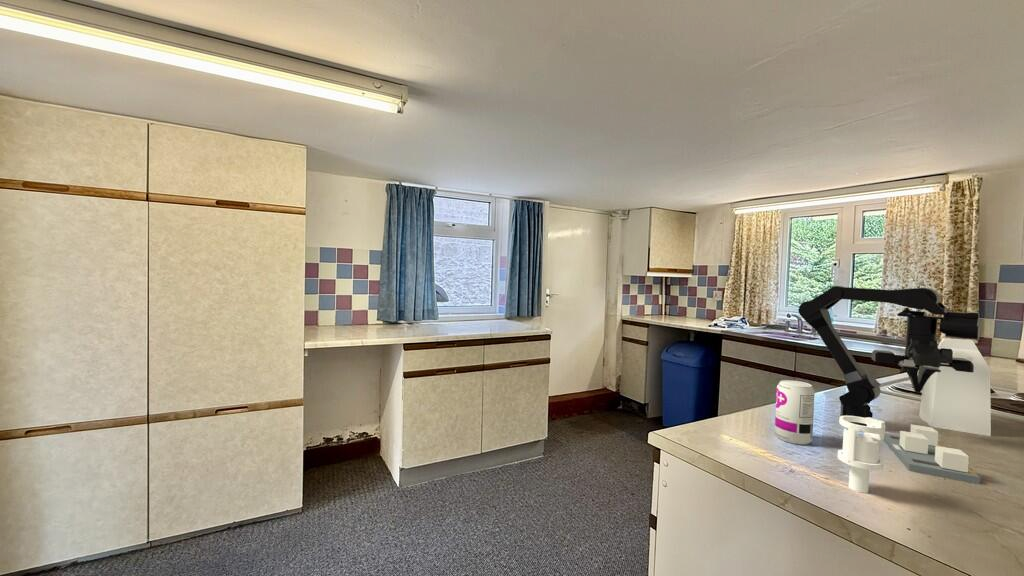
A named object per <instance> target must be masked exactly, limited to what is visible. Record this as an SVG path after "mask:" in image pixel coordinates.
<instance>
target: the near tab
mask: <svg viewBox="0 0 1024 576" xmlns="http://www.w3.org/2000/svg"><path fill="white" fill-rule="evenodd" d="M969 459H970V456H969V455H968V454H967V453H965V452H964V451H963V450H961V449H958V448H952V447H946V446H944V447H940V446H936V447H935V462H936V463H938V464H939V465H940V466H941V467H942V468H946V469H951V470H957V471H962V472H968V468H969Z"/></svg>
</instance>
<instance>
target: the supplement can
mask: <svg viewBox="0 0 1024 576" xmlns="http://www.w3.org/2000/svg"><path fill="white" fill-rule="evenodd" d="M815 393H816V391H815V389H814V387H813V385H812V384H810V383H808V382H804V381H799V380H792V379H791V380H790V379H782V380H780V381H779V382H778V384H777V386H776V395H775V414H774V415H775V416H774V417H775V418H774V420H775V421H774V435H775V436H776V437H777V438H778V439H779V440H781V441H784V442H786V443H790V444H792V445H800V446H805V445H806V446H807V445H809V444H810V443H812V442H813V432H814V431H813V430H814V416H815V415H814V413H815V395H816V394H815Z"/></svg>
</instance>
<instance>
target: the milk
mask: <svg viewBox="0 0 1024 576" xmlns="http://www.w3.org/2000/svg"><path fill="white" fill-rule="evenodd" d="M937 347H938V349H941V348H946V349H951V350H952V351H953V357H955V358H964V359H967V360H969V361H971V362H972V363H973V365H974V370H973V372H962V371H956V370H955V369H953V368H952V367H945V366H940V367H939V370H941V372H935V373H934V374H932V375H931V376H930V377H929V379H928V380H927V382H926V383H925V385H924V387H923V388H922V390H921V398H920V406H919V414H918V415H919V417H920V418H921V419H922V420H923V422H925V421H926V422H927V423H928V424H927V425H928V426H929V427H932V428H936V429H943V430H944V429H945V430H948V429H949V431H950V430H951V431H956V432H963V433H966V434H967V433H968V434H975V435H981V436H988V437H991V433H992V431H991V429H992V428H991V422H992V421H991V420H992V419H991V417H992V415H991V413H992V412H991V370H990V367H989V365H988V363H987V361H986V359H984V357H983V355H982V353H981V352H980V350H979V349H978V347H977V345H976V344H975V342H974V340H971V339H961V338H951V337H943V338H941V340H940V342H939V344H937ZM926 422H925V423H926Z"/></svg>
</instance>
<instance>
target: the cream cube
mask: <svg viewBox="0 0 1024 576" xmlns="http://www.w3.org/2000/svg"><path fill="white" fill-rule="evenodd" d="M910 432H911V433H917V434H922V435H924V436H925V437H926V438H927V439H928V445H932V446H938V443H939V431H937V430H936V429H934V427H931V426H924V425H917V424H910Z"/></svg>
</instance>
